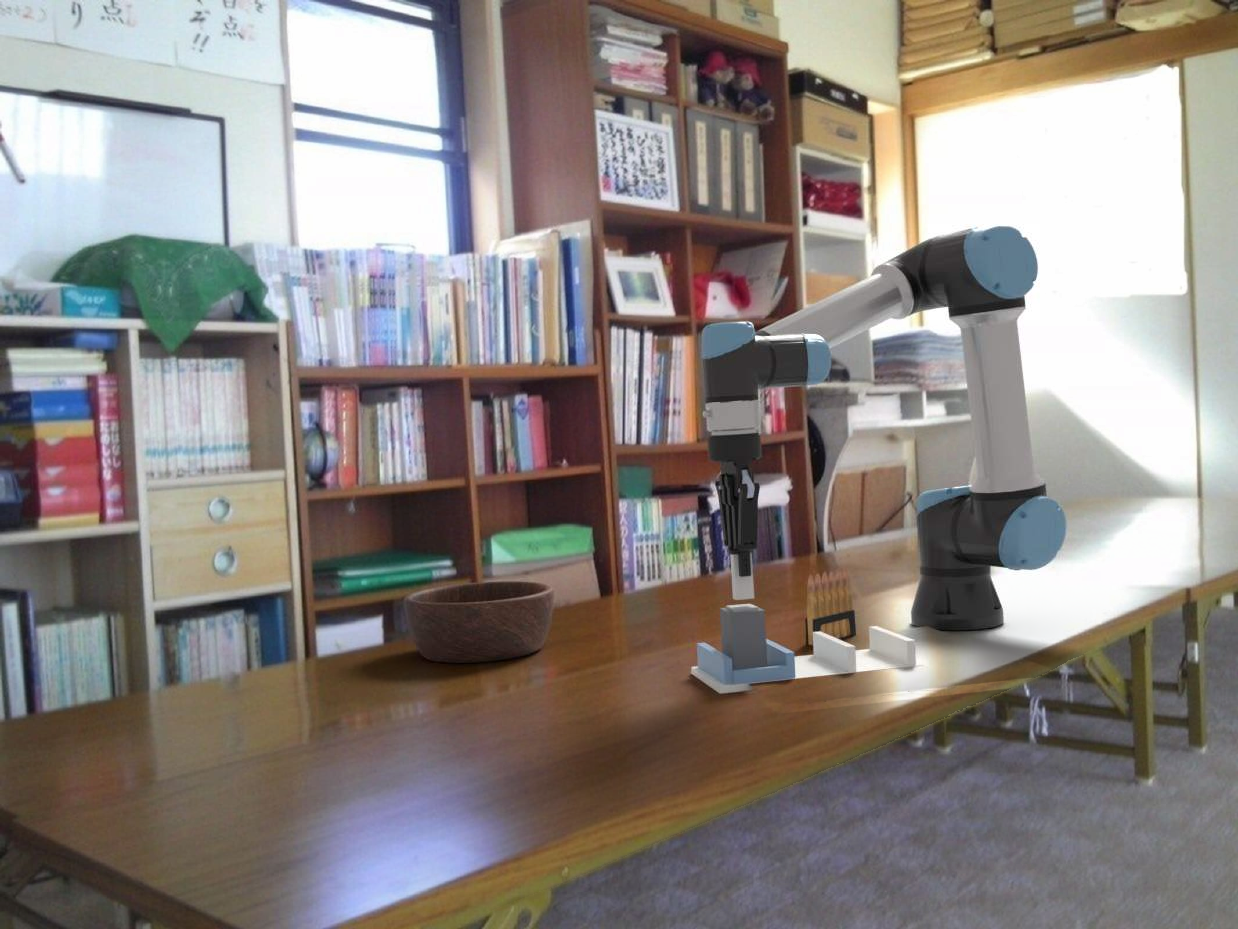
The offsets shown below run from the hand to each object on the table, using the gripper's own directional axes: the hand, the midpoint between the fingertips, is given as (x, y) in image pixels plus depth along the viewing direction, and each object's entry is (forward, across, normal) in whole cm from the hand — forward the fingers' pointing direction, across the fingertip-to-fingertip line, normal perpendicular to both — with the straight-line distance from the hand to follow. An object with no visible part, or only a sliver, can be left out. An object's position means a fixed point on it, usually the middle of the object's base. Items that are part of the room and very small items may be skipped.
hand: (743, 598), depth 177 cm
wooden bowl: (+12, -40, -34) cm, 53 cm away
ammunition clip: (+12, -17, +20) cm, 28 cm away
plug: (+11, 0, 0) cm, 11 cm away
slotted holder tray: (+12, 0, +8) cm, 14 cm away
